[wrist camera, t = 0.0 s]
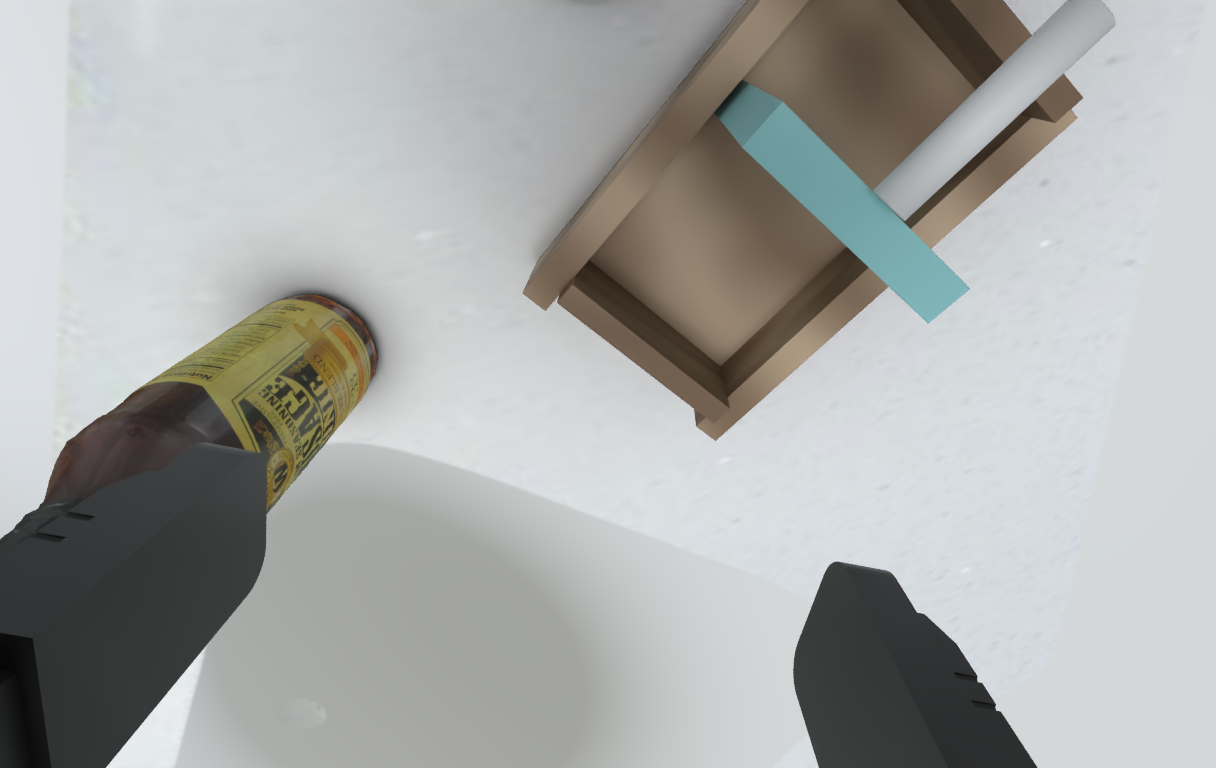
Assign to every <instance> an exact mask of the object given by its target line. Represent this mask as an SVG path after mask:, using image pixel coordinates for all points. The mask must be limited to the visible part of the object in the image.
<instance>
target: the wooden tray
mask: <svg viewBox="0 0 1216 768" xmlns="http://www.w3.org/2000/svg"><path fill="white" fill-rule="evenodd" d="M1031 36H1032V35H1031V34H1030V32H1029V31H1028V30H1027V29H1026V27H1025V26H1024V25H1023V24H1022V23H1021V21H1020V20H1019V19H1018V18H1017V17H1016V15H1015V14H1014V13H1013V12H1012V10H1011V9H1010V8H1009V7H1008V6H1007V4H1006V3H1005V2H1004V1H1003V0H748V1H747V2H746V4H745V5H744V6H743V7H742V9H741V10H740V11H739V12H738V14H737V15H736V16H735V17H734V18H733V20H732V21H731V22H730V23H729V25H728V26H727V27H726V28H725V30H724V31H723V32H722V33H721V35H720V36H719V37H718V38H717V40H716V41H715V42H714V43H713V44H712V46H711V47H710V48H709V49H708V51H707V52H706V53H705V54H704V56H703V57H702V58H701V59H700V61H699V62H698V63H697V64H696V66H695V67H694V68H693V69H692V71H691V72H690V73H689V74H688V75H687V77H686V78H685V79H684V80H683V82H682V83H681V84H680V85H679V87H678V88H677V89H676V90H675V92H674V93H673V94H672V95H671V97H670V98H669V99H668V100H667V101H666V103H665V104H664V105H663V106H662V108H661V109H660V110H659V111H658V113H657V114H656V115H655V116H654V118H653V119H652V120H651V121H650V123H649V124H648V125H647V126H646V128H645V129H644V130H643V131H642V132H641V134H640V135H639V136H638V137H637V139H636V140H635V141H634V142H633V144H632V145H631V146H630V147H629V149H628V150H627V151H626V152H625V154H624V155H623V156H622V157H621V158H620V160H619V161H618V162H617V163H616V165H615V166H614V167H613V168H612V170H611V171H610V172H609V173H608V175H607V176H606V177H605V178H604V180H603V181H602V182H601V183H600V185H599V186H598V187H597V188H596V189H595V191H594V192H593V193H592V194H591V196H590V197H589V198H588V199H587V201H586V202H585V203H584V204H583V206H582V207H581V208H580V209H579V211H578V212H577V213H576V214H575V215H574V217H573V218H572V219H571V220H570V222H569V223H568V224H567V225H566V227H565V228H564V229H563V230H562V232H561V233H560V234H559V235H558V237H557V238H556V239H555V240H554V242H553V243H552V244H551V245H550V246H549V248H548V249H547V250H546V251H545V253H544V254H543V255H542V256H541V258H540V259H539V260H538V261H537V263H536V265H535V267H534V269H533V271H532V273H531V276H530V278H529V280H528V282H527V284H526V286H525V288H524V291H523V294H524V295H525V296H527V297H528V298H529V299H531V300H532V301H533V302H535V303H536V304H537V305H538V306H540V307H541V308H542V309H544V310H545V311H546V310H547V308H548V307H549V306H550V305H551V304H552V303H553V301H554V300H555V299H556V298H557V297H558V295H559V294H560V295H559V298H558V301H557V303H558V304H559V305H561V306H562V307H563V308H565V309H566V310H567V311H568V312H570V313H571V314H572V315H574V316H575V317H576V318H578V319H579V320H580V321H581V322H583V323H584V324H585V325H587V326H588V327H589V328H590V329H592V330H593V331H594V332H596V333H597V334H598V335H600V336H601V337H602V338H603V339H605V340H606V341H607V342H609V343H610V344H611V345H612V346H614V347H615V348H616V349H618V350H619V351H620V352H621V353H623V354H624V355H625V356H627V357H628V358H629V359H631V360H632V361H633V362H634V363H636V364H637V365H638V366H640V367H641V368H642V369H643V370H645V371H646V372H647V373H649V374H650V375H651V376H653V377H654V378H655V379H656V380H658V381H659V382H660V383H662V384H663V385H664V386H665V387H667V388H668V389H669V390H671V391H672V392H673V393H674V394H676V395H677V396H678V397H680V398H681V399H682V400H684V401H685V402H686V403H687V404H689V405H690V406H691V407H693V408H694V412H695V420H696V426H697V427H698V428H699V429H701V430H702V431H703V432H705V433H706V434H707V435H708V436H710V437H711V438H712V439H714V440H715V441H716V440H717V439H718V438H719V437H720V436H722V435H723V434H724V433H725V432H726V431H727V430H728V429H729V428H731V427H732V426H733V425H734V424H735V423H736V422H737V421H738V420H740V419H741V418H742V417H743V416H744V415H745V414H746V413H747V412H749V411H750V410H751V409H752V408H753V407H754V406H755V405H756V404H757V403H759V402H760V401H761V400H762V399H763V398H764V397H765V396H766V395H768V394H769V393H770V392H771V391H772V390H773V389H774V388H775V387H777V386H778V385H779V384H780V383H781V382H782V381H783V380H784V379H786V378H787V377H788V376H789V375H790V374H791V373H792V372H793V371H794V370H796V369H797V368H798V367H799V366H800V365H801V364H802V363H803V362H805V361H806V360H807V359H808V358H809V357H810V356H811V355H812V354H814V353H815V352H816V351H817V350H818V349H819V348H820V347H821V346H822V345H824V344H825V343H826V342H827V341H828V340H829V339H830V338H831V337H833V336H834V335H835V334H836V333H837V332H838V331H839V330H840V329H842V328H843V327H844V326H845V325H846V324H847V323H848V322H849V321H851V320H852V319H853V318H854V317H855V316H856V315H857V314H858V313H859V312H861V311H862V310H863V309H864V308H865V307H866V306H867V305H868V304H870V303H871V302H872V301H873V300H874V299H875V298H876V297H877V296H879V295H880V294H881V293H882V292H883V291H884V290H885V289H886V288H887V287H889V286H888V285H887V284H886V283H885V282H884V281H883V280H882V279H881V278H879V277H878V276H877V275H876V274H875V273H874V272H873V271H872V270H871V269H870V268H869V267H868V266H867V265H866V264H865V263H864V262H863V261H862V260H860V259H859V258H858V257H857V256H856V255H855V254H854V253H853V252H852V251H851V250H850V249H849V248H848V247H847V246H846V245H845V244H844V243H843V242H841V241H840V240H839V239H838V238H837V237H836V236H835V235H834V234H833V233H832V232H831V231H830V230H829V229H828V228H827V227H826V226H825V225H824V224H822V223H821V222H820V221H819V220H818V219H817V218H816V217H815V216H814V215H813V214H812V213H811V212H810V211H809V210H808V209H807V208H806V207H805V206H803V205H802V204H801V203H800V202H799V201H798V200H797V199H796V198H795V197H794V196H793V195H792V194H791V193H790V192H789V191H788V190H787V189H786V188H784V187H783V186H782V185H781V184H780V183H779V182H778V181H777V180H776V179H775V178H774V177H773V176H772V175H771V174H770V173H769V172H768V171H767V170H765V169H764V168H763V167H762V166H761V165H760V164H759V163H758V162H757V161H756V160H755V159H754V158H753V157H752V156H751V155H750V154H749V153H748V152H746V151H745V150H744V149H743V148H742V147H741V145H740V144H739V143H738V142H737V140H736V139H735V138H734V137H733V135H732V134H731V133H730V132H729V130H728V129H727V128H726V127H725V125H724V124H723V123H722V122H721V121H720V119H719V118H718V117H717V116H716V114H715V113H714V112H715V110H716V109H717V108H718V107H719V106H720V105H721V103H722V102H723V101H724V100H725V99H726V97H727V96H728V95H729V94H730V93H731V92H732V90H733V89H734V88H735V87H736V86H737V84H738V83H739V82H740V81H741V80H744V81H746V82H747V83H749V84H751V85H753V86H755V87H757V88H759V89H760V90H762V91H764V92H766V93H768V94H770V95H771V96H773V97H775V98H777V99H779V100H781V101H783V102H784V103H785V104H786V105H787V106H788V107H789V108H790V109H791V110H792V111H793V112H794V113H795V114H796V115H797V116H798V117H799V118H800V119H801V120H802V121H803V122H804V123H805V124H806V125H807V126H808V127H809V128H810V129H811V130H812V131H813V132H814V133H815V134H816V135H817V136H818V137H819V138H820V139H821V140H822V141H823V142H824V143H825V144H826V145H827V146H828V147H829V148H830V149H831V150H832V151H833V152H834V153H835V154H836V155H837V156H838V157H839V158H840V159H841V160H842V161H843V162H844V163H845V164H846V165H847V166H848V167H849V168H850V169H851V170H852V171H853V172H854V173H855V174H856V175H857V176H858V177H859V178H860V179H861V180H862V181H863V182H864V183H865V184H866V185H867V186H868V187H869V188H870V189H871V190H872V191H873V190H874V189H875V188H876V187H877V186H878V185H879V184H880V183H881V182H882V181H883V180H884V179H885V178H886V177H887V176H888V175H889V174H890V173H891V172H892V171H893V170H894V169H895V168H897V167H898V166H899V165H900V164H901V163H902V162H903V161H904V160H905V159H906V158H907V157H908V156H909V155H910V154H911V153H912V152H913V151H914V150H915V149H916V148H917V147H918V146H919V145H920V144H921V143H922V142H923V141H924V140H925V139H926V138H927V137H928V136H929V135H930V134H931V133H932V132H933V131H934V130H935V129H936V128H937V127H939V126H940V125H941V124H942V123H943V122H944V121H945V120H946V119H947V118H948V117H949V116H950V115H951V114H952V113H953V112H954V111H955V110H956V109H957V108H958V107H959V106H960V105H961V104H962V103H963V102H964V101H965V100H966V99H967V98H968V97H969V96H970V95H971V94H972V93H973V92H974V91H975V90H976V89H977V88H978V87H979V86H981V85H982V84H983V83H984V82H985V81H986V80H987V79H988V78H989V77H990V76H991V75H992V74H993V73H994V72H995V71H996V70H997V69H998V68H999V67H1000V66H1001V65H1002V64H1003V63H1004V62H1005V61H1006V60H1007V59H1008V58H1009V57H1010V56H1011V55H1012V54H1013V53H1014V52H1015V51H1016V50H1017V49H1018V48H1019V47H1020V46H1021V45H1023V44H1024V43H1025V42H1026V41H1027V40H1028V39H1029V38H1030V37H1031ZM1082 99H1083V97H1082V96H1081V94H1080V93H1079V92H1078V91H1077V90H1076V88H1075V87H1074V86H1073V85H1072V83H1071V82H1070V81H1069V80H1068V79H1067V77H1066V76H1065V75H1064V74H1062V75H1061V76H1060V77H1059V78H1058V79H1057V80H1056V81H1055V82H1054V83H1053V84H1052V85H1051V86H1050V87H1048V88H1047V89H1046V90H1045V91H1044V92H1043V93H1042V94H1041V95H1040V96H1039V97H1038V98H1037V99H1036V100H1035V101H1033V102H1032V103H1031V104H1030V105H1029V106H1028V107H1027V108H1026V109H1025V110H1024V111H1023V112H1022V113H1021V114H1019V115H1018V116H1017V117H1016V118H1015V119H1014V120H1013V121H1012V122H1011V123H1010V124H1009V125H1008V126H1007V127H1005V128H1004V129H1003V130H1002V131H1001V132H1000V133H999V134H998V135H997V136H996V137H995V138H994V139H993V140H992V141H990V142H989V143H988V144H987V145H986V146H985V147H984V148H983V149H982V150H981V151H980V152H979V153H978V154H976V155H975V156H974V157H973V158H972V159H971V160H970V161H969V162H968V163H967V164H966V165H965V166H964V167H962V168H961V169H960V170H959V171H958V172H957V173H956V174H955V175H954V176H953V177H952V178H951V179H950V180H949V181H947V182H946V183H945V184H944V185H943V186H942V187H941V188H940V189H939V190H938V191H937V192H936V193H935V194H933V195H932V196H931V197H930V198H929V199H928V200H927V201H926V202H925V203H924V204H923V205H922V206H921V207H919V208H918V209H917V210H916V211H915V212H914V213H913V214H912V215H911V216H910V217H909V218H908V219H907V220H906V221H904V220H903V219H901V218H900V217H899V216H898V215H897V214H896V213H895V212H894V213H895V214H896V215H897V216H898V217H899V218H900V219H901V220H902V221H903V222H904V223H905V224H906V225H907V226H908V227H909V228H910V229H911V230H912V231H913V232H914V233H915V234H916V235H917V236H918V237H919V238H920V239H921V240H922V241H923V242H924V243H925V244H926V245H927V246H928V247H929V248H930V249H931V248H932V247H933V246H935V245H936V244H937V243H938V242H939V241H940V240H941V239H942V238H944V237H945V236H946V235H947V234H948V233H949V232H950V231H951V230H953V229H954V228H955V227H956V226H957V225H958V224H959V223H960V222H961V221H963V220H964V219H965V218H966V217H967V216H968V215H969V214H970V213H972V212H973V211H974V210H975V209H976V208H977V207H978V206H979V205H981V204H982V203H983V202H984V201H985V200H986V199H987V198H988V197H989V196H991V195H992V194H993V193H994V192H995V191H996V190H997V189H998V188H1000V187H1001V186H1002V185H1003V184H1004V183H1005V182H1006V181H1007V180H1009V179H1010V178H1011V177H1012V176H1013V175H1014V174H1015V173H1016V172H1018V171H1019V170H1020V169H1021V168H1022V167H1023V166H1024V165H1025V164H1026V163H1028V162H1029V161H1030V160H1031V159H1032V158H1033V157H1034V156H1035V155H1037V154H1038V153H1039V152H1040V151H1041V150H1042V149H1043V148H1044V147H1046V146H1047V145H1048V144H1049V143H1050V142H1051V141H1052V140H1053V139H1054V138H1056V137H1057V136H1058V135H1059V134H1060V133H1061V132H1062V131H1063V130H1065V129H1066V128H1067V127H1068V126H1069V125H1070V124H1071V123H1072V122H1074V121H1075V120H1076V119H1077V118H1078V117H1077V116H1076V115H1075V114H1074V113H1073V111H1072V110H1071V109H1072V108H1073V107H1074V106H1075V105H1076V104H1077V103H1078V102H1079V101H1080V100H1082ZM873 192H874V191H873Z"/></svg>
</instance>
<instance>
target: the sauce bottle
mask: <svg viewBox="0 0 1216 768" xmlns="http://www.w3.org/2000/svg"><path fill="white" fill-rule="evenodd" d="M376 363H377V356H376V350H375V347H374V344H373V341H372V338H371V337H370V333H368V331H367V329H366V327H365V325H364V324H363V322H362V320H361V319H360V318H359V317H358V316H357V315H356V314H354V313H353V311H351V310H349V309H347V308H344V307H343V306H341V305H339V304H338V303H336V302H334V301H332V300H330V299H328V298H326V297H322V296H319V295H299V296H293V297H289V298H286V299H283V300H279V301H276V302H273V303H271V304H268V305H267V306H265V307H263V308H261V309H260V310H258V311H257V312H255V313H254V314H252V315H250V316H249V317H247V318H246V319H244V320H243V321H241V322H240V323H238V324H237V325H235V326H233V327H232V328H230V329H229V330H227V331H226V332H224V333H223V334H222V335H220V336H219V337H217V338H216V339H214V340H213V341H211V342H210V343H208V344H207V345H205V346H204V347H202V348H200V349H199V350H197V351H196V352H194V353H193V354H191V355H190V356H188V357H186V358H185V359H183V360H182V361H180V362H179V363H177V364H175V365H174V366H172V367H171V368H169V369H168V370H166V371H165V372H164V373H162V374H160V375H159V376H157V377H156V378H154V379H153V380H151V381H150V382H148V383H146V384H145V385H143V386H142V387H140V388H139V389H137V390H136V391H134V392H133V393H132V394H131V395H129V396H128V397H127V398H126V399H125V400H124V402H123V403H121V404H120V405H118V406H117V407H116V408H115V409H114V410H112V411H110V412H109V413H107V414H106V415H102V416H101V417H99V418H97V419H96V420H95V421H94V422H92V423H91V424H90V425H88V426H87V427H85V428H84V429H83V430H82V431H80V432H79V433H78V434H77V435H76V436H75V437H73V438H72V439H70V440H69V441H67V442H66V445H65V447H64V448H63V450H62V451H61V453H60V455H59V457H58V458H57V461H56V463H55V465H54V469H53V471H52V475H51V477H50V480H49V484H48V488H47V492H46V496H45V500H44V502H43V503H42V504H40V506H39V508H38V509H37V510H35V511H32V512H30V513H28V514H26V515H25V516H24V517H23V519H22V520H21V521H20V522H19V523H18V524H17V525H16V526H15V528H14V529H13V530H12V531H11V532H9V533H8V534H6V535H5V536H4V537H2V538H1V539H0V556H2V555H3V554H5V553H6V552H8V551H9V550H11V549H12V548H13V547H15V546H16V545H18V544H19V543H21V542H22V541H24V540H25V539H27V538H28V537H29V538H34V537H35V536H36V534H37V531H39V530H40V529H42V528H43V527H45V526H46V525H48V524H49V523H51V522H52V521H54V520H55V519H57V518H58V517H60V516H62V517H65V516H66V515H67V511H69V510H70V509H72V508H73V507H75V506H76V505H77V504H79V503H80V502H82V501H83V500H85V499H86V498H88V497H89V496H91V495H92V494H94V493H95V492H97V491H98V490H100V489H101V488H103V487H105V486H108V485H111V484H113V483H116V482H119V481H121V480H124V479H127V478H130V477H132V476H135V475H138V474H140V473H143V472H146V471H148V470H150V471H155V472H158V471H159V470H161V469H162V468H163V467H165V466H166V465H168V464H169V463H170V462H172V461H173V460H175V459H176V458H177V457H179V456H180V455H182V454H183V453H184V452H186V451H187V450H188V449H190V448H191V447H193V446H194V445H196V444H198V443H201V442H206V443H211V444H216V445H222V446H227V447H233V448H238V449H243V450H249V451H254V452H259V453H261V454H262V455H263V456H264V458H265V460H266V465H267V505H266V514H267V513H268V512H269V511H270V509H271V508H272V507H273V506H274V505H275V504H276V502H277V501H278V500H279V499H280V497H281V496H282V495H283V494H284V493H285V491H286V490H287V489H288V488H289V487H290V485H291V484H292V483H293V482H294V481H295V480H296V478H297V477H298V476H299V475H300V474H301V472H302V471H303V470H304V469H305V468H306V467H307V465H308V464H309V462H310V461H311V460H312V459H313V458H314V456H315V455H316V454H317V453H318V452H319V450H320V449H321V448H322V447H323V446H324V445H325V444H326V442H327V441H328V439H329V438H330V437H331V436H332V434H333V433H334V432H335V431H336V429H337V428H338V427H339V426H340V425H341V424H342V423H343V421H344V420H345V419H346V418H347V417H348V415H349V414H350V413H351V411H352V410H353V409H354V408H355V407H356V406H357V404H358V403H359V402H360V401H361V399H362V398H363V396H364V395H365V393H366V391H367V388H368V385H369V383H370V381H371V379H372V378H373V376H374V374H375V369H376Z"/></svg>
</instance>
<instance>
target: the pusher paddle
mask: <svg viewBox="0 0 1216 768" xmlns="http://www.w3.org/2000/svg"><path fill="white" fill-rule="evenodd" d="M1114 26H1115V19H1114V16H1113V14H1112V12H1111V11H1110V10H1109V8H1108V7H1107V6H1106V5H1105V4H1104V3H1103V2H1102V1H1100V0H1068V1H1067V2H1066V3H1065V4H1063V5H1062V6H1061V7H1060V8H1059V9H1058V10H1057V11H1056V12H1055V13H1054V14H1053V15H1052V16H1051V17H1050V18H1049V19H1048V20H1047V21H1046V22H1045V23H1044V24H1043V25H1042V26H1041V27H1040V28H1039V29H1038V30H1037V31H1036V32H1035V33H1034V34H1033V35H1032V36H1031V37H1030V38H1029V39H1028V40H1027V41H1026V42H1025V43H1024V44H1023V45H1021V46H1020V47H1019V48H1018V49H1017V50H1016V51H1015V52H1014V53H1013V54H1012V55H1011V56H1010V57H1009V58H1008V59H1007V60H1006V61H1005V62H1004V63H1003V64H1002V65H1001V66H1000V67H999V68H998V69H997V70H996V71H995V72H994V73H993V74H992V75H991V76H990V77H989V78H988V79H987V80H986V81H985V82H984V83H983V84H982V85H981V86H979V87H978V88H977V89H976V90H975V91H974V92H973V93H972V94H971V95H970V96H969V97H968V98H967V99H966V100H965V101H964V102H963V103H962V104H961V105H960V106H959V107H958V108H957V109H956V110H955V111H954V112H953V113H952V114H951V115H950V116H949V117H948V118H947V119H946V120H945V121H944V122H943V123H942V124H941V125H940V126H939V127H937V128H936V129H935V130H934V131H933V132H932V133H931V134H930V135H929V136H928V137H927V138H926V139H925V140H924V141H923V142H922V143H921V144H920V145H919V146H918V147H917V148H916V149H915V150H914V151H913V152H912V153H911V154H910V155H909V156H908V157H907V158H906V159H905V160H904V161H903V162H902V163H901V164H900V165H899V166H898V167H897V168H895V169H894V170H893V171H892V172H891V173H890V174H889V175H888V176H887V177H886V178H885V179H884V180H883V181H882V182H881V183H880V184H879V185H878V186H877V187H876V188H875V189H874V190H873V191H874V192H873V191H872V190H871V189H870V188H869V187H868V186H867V185H866V184H865V183H864V182H863V181H862V180H861V179H860V178H859V177H858V176H857V175H856V174H855V173H854V172H853V171H852V170H851V169H850V168H849V167H848V166H847V165H846V164H845V163H844V162H843V161H842V160H841V159H840V158H839V157H838V156H837V155H836V154H835V153H834V152H833V151H832V150H831V149H830V148H829V147H828V146H827V145H826V144H825V143H824V142H823V141H822V140H821V139H820V138H819V137H818V136H817V135H816V134H815V133H814V132H813V131H812V130H811V129H810V128H809V127H808V126H807V125H806V124H805V123H804V122H803V121H802V120H801V119H800V118H799V117H798V116H797V115H796V114H795V113H794V112H793V111H792V110H791V109H790V108H789V107H788V106H787V105H786V104H785V103H784V102H783V101H781V100H779V99H777V98H775V97H773V96H771V95H770V94H768V93H766V92H764V91H762V90H760V89H759V88H757V87H755V86H753V85H751V84H749V83H747V82H746V81H744V80H741V81H740V82H739V83H738V84H737V86H736V87H735V88H734V89H733V90H732V92H731V93H730V94H729V95H728V96H727V97H726V99H725V100H724V101H723V102H722V103H721V105H720V106H719V107H718V108H717V109H716V110H715V112H714V113H715V114H716V116H717V117H718V118H719V119H720V121H721V122H722V123H723V124H724V125H725V127H726V128H727V129H728V130H729V132H730V133H731V134H732V135H733V137H734V138H735V139H736V140H737V142H738V143H739V144H740V145H741V147H742V148H743V149H744V150H745V151H746V152H748V153H749V154H750V155H751V156H752V157H753V158H754V159H755V160H756V161H757V162H758V163H759V164H760V165H761V166H762V167H763V168H764V169H765V170H767V171H768V172H769V173H770V174H771V175H772V176H773V177H774V178H775V179H776V180H777V181H778V182H779V183H780V184H781V185H782V186H783V187H784V188H786V189H787V190H788V191H789V192H790V193H791V194H792V195H793V196H794V197H795V198H796V199H797V200H798V201H799V202H800V203H801V204H802V205H803V206H805V207H806V208H807V209H808V210H809V211H810V212H811V213H812V214H813V215H814V216H815V217H816V218H817V219H818V220H819V221H820V222H821V223H822V224H824V225H825V226H826V227H827V228H828V229H829V230H830V231H831V232H832V233H833V234H834V235H835V236H836V237H837V238H838V239H839V240H840V241H841V242H843V243H844V244H845V245H846V246H847V247H848V248H849V249H850V250H851V251H852V252H853V253H854V254H855V255H856V256H857V257H858V258H859V259H860V260H862V261H863V262H864V263H865V264H866V265H867V266H868V267H869V268H870V269H871V270H872V271H873V272H874V273H875V274H876V275H877V276H878V277H879V278H881V279H882V280H883V281H884V282H885V283H886V284H887V285H888V286H889V287H890V288H891V289H892V290H893V291H894V292H895V293H896V294H897V295H898V296H900V297H901V298H902V299H903V300H904V301H905V302H906V303H907V304H908V305H909V306H910V307H911V308H912V309H913V310H914V311H915V312H916V313H917V314H919V315H920V316H921V317H922V318H923V319H924V320H925V321H926V322H927V323H930V322H931V321H932V320H933V319H934V318H936V317H937V316H938V315H939V314H940V313H941V312H943V311H944V310H945V309H946V308H947V307H949V306H950V305H951V304H952V303H953V302H955V301H956V300H957V299H958V298H959V297H961V296H962V295H963V294H964V293H965V292H967V291H968V290H969V289H970V288H969V287H968V286H967V285H966V284H965V283H964V282H963V281H962V280H961V279H960V278H959V277H958V276H957V275H956V274H955V273H954V272H953V271H952V270H951V269H950V268H949V267H948V266H947V265H946V264H945V263H944V262H943V261H942V260H941V259H940V258H939V257H938V256H937V255H936V254H935V253H934V252H933V251H932V250H931V249H930V248H929V247H928V246H927V245H926V244H925V243H924V242H923V241H922V240H921V239H920V238H919V237H918V236H917V235H916V234H915V233H914V232H913V231H912V230H911V229H910V228H909V227H908V226H907V225H906V224H905V223H904V222H903V221H902V220H901V219H903V220H904V221H906V220H907V219H908V218H909V217H910V216H911V215H912V214H913V213H914V212H915V211H916V210H917V209H918V208H919V207H921V206H922V205H923V204H924V203H925V202H926V201H927V200H928V199H929V198H930V197H931V196H932V195H933V194H935V193H936V192H937V191H938V190H939V189H940V188H941V187H942V186H943V185H944V184H945V183H946V182H947V181H949V180H950V179H951V178H952V177H953V176H954V175H955V174H956V173H957V172H958V171H959V170H960V169H961V168H962V167H964V166H965V165H966V164H967V163H968V162H969V161H970V160H971V159H972V158H973V157H974V156H975V155H976V154H978V153H979V152H980V151H981V150H982V149H983V148H984V147H985V146H986V145H987V144H988V143H989V142H990V141H992V140H993V139H994V138H995V137H996V136H997V135H998V134H999V133H1000V132H1001V131H1002V130H1003V129H1004V128H1005V127H1007V126H1008V125H1009V124H1010V123H1011V122H1012V121H1013V120H1014V119H1015V118H1016V117H1017V116H1018V115H1019V114H1021V113H1022V112H1023V111H1024V110H1025V109H1026V108H1027V107H1028V106H1029V105H1030V104H1031V103H1032V102H1033V101H1035V100H1036V99H1037V98H1038V97H1039V96H1040V95H1041V94H1042V93H1043V92H1044V91H1045V90H1046V89H1047V88H1048V87H1050V86H1051V85H1052V84H1053V83H1054V82H1055V81H1056V80H1057V79H1058V78H1059V77H1060V76H1061V75H1062V74H1064V73H1065V72H1066V71H1067V70H1068V69H1069V68H1070V67H1071V66H1072V65H1073V64H1074V63H1075V62H1076V61H1078V60H1079V59H1080V58H1081V57H1082V56H1083V55H1084V54H1085V53H1086V52H1087V51H1088V50H1089V49H1090V48H1091V47H1093V46H1094V45H1095V44H1096V43H1097V42H1098V41H1099V40H1100V39H1101V38H1102V37H1103V36H1104V35H1105V34H1107V33H1108V32H1109V31H1110V30H1111V29H1112V28H1113V27H1114ZM894 212H895V213H896V214H897V215H898V216H899V217H900V218H901V219H900V218H899V217H898V216H897V215H896V214H895V213H894Z"/></svg>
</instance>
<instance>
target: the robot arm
mask: <svg viewBox="0 0 1216 768" xmlns="http://www.w3.org/2000/svg"><path fill="white" fill-rule="evenodd" d="M266 505H267V465H266V460H265V458H264V456H263V455H262V454H261V453H259V452H254V451H249V450H243V449H238V448H233V447H227V446H222V445H216V444H211V443H206V442H201V443H198V444H196V445H194V446H193V447H191V448H190V449H188V450H187V451H186V452H184V453H183V454H182V455H180V456H179V457H177V458H176V459H175V460H173V461H172V462H170V463H169V464H168V465H166V466H165V467H163V468H162V469H161V470H159V471H158V472H155V471H150V470H148V471H146V472H143V473H140V474H138V475H135V476H132V477H130V478H127V479H124V480H121V481H119V482H116V483H113V484H111V485H108V486H105V487H103V488H101V489H100V490H98V491H97V492H95V493H94V494H92V495H91V496H89V497H88V498H86V499H85V500H83V501H82V502H80V503H79V504H77V505H76V506H75V507H73V508H72V509H70V510H69V511H67V515H66V516H65V517H62V516H60V517H58V518H57V519H55V520H54V521H52V522H51V523H49V524H48V525H46V526H45V527H43V528H42V529H40V530H39V531H37V534H36V536H35V537H34V538H29V537H28V538H27V539H25V540H24V541H22V542H21V543H19V544H18V545H16V546H15V547H13V548H12V549H11V550H9V551H8V552H6V553H5V554H3V555H2V556H0V768H106V767H107V765H108V764H109V763H110V762H111V761H112V759H113V758H114V757H115V756H116V754H117V753H118V752H119V751H120V750H121V748H122V747H123V746H124V745H125V744H126V742H127V741H128V740H129V739H130V737H131V736H132V735H133V734H134V733H135V731H136V730H137V729H138V728H139V727H140V725H141V724H142V723H143V722H144V720H145V719H146V718H147V717H148V716H149V714H150V713H151V712H152V711H153V710H154V708H155V707H156V706H157V705H158V703H159V702H160V701H161V700H162V699H163V697H164V696H165V695H166V694H167V692H168V691H169V690H170V689H171V688H172V686H173V685H174V684H175V683H176V682H177V680H178V679H179V678H180V677H181V675H182V674H183V673H184V672H185V671H186V669H187V668H188V667H189V666H190V665H191V663H192V662H193V661H194V660H195V658H196V657H197V656H198V655H199V654H200V652H201V651H202V650H203V649H204V647H205V646H206V645H207V644H208V643H209V641H210V640H211V639H212V638H213V637H214V635H215V634H216V633H217V632H218V630H219V629H220V628H221V627H222V626H223V624H224V623H225V622H226V621H227V620H228V618H229V617H230V616H231V615H232V613H233V612H234V611H235V610H236V609H237V607H238V606H239V605H240V604H241V603H242V601H243V600H244V599H245V598H246V596H247V595H248V594H249V592H250V591H251V589H252V588H253V586H254V584H255V582H256V580H257V578H258V576H259V573H260V571H261V567H262V565H263V561H264V557H265V550H266ZM793 671H794V672H793V673H794V685H795V690H796V695H797V698H798V701H799V704H800V707H801V711H802V714H803V717H804V720H805V724H806V727H807V730H808V733H809V737H810V740H811V743H812V746H813V750H814V753H815V756H816V759H817V762H818V766H819V768H1037V766H1036V765H1035V763H1034V762H1033V760H1032V759H1031V757H1030V756H1029V754H1028V753H1027V751H1026V750H1025V748H1024V746H1023V745H1022V743H1021V742H1020V740H1019V739H1018V737H1017V736H1016V734H1015V733H1014V731H1013V730H1012V728H1011V727H1010V725H1009V724H1008V722H1007V720H1006V719H1005V717H1004V716H1003V715H1002V713H1001V712H999V711H996V709H995V706H996V704H995V702H994V701H993V699H992V698H991V696H990V695H989V693H988V691H987V690H986V688H985V687H984V685H983V684H982V683H979V682H977V677H978V676H977V675H976V673H975V672H974V670H973V669H972V667H971V666H970V664H969V663H968V661H967V659H966V658H965V656H964V655H963V653H962V652H961V650H960V649H959V647H958V646H957V644H956V643H955V642H954V641H953V640H952V639H950V638H949V637H948V636H947V635H946V634H945V633H944V632H943V631H942V630H941V629H940V628H939V627H938V626H936V625H935V624H934V623H933V622H932V621H931V620H930V619H929V618H928V617H927V616H926V615H925V614H921V613H917V612H916V610H915V609H914V607H913V605H912V604H911V602H910V601H909V599H908V597H907V596H906V594H905V592H904V591H903V589H902V588H901V586H900V584H899V583H898V581H897V579H896V578H895V577H894V575H893V574H892V573H891V572H889V571H886V570H880V569H875V568H870V567H864V566H859V565H853V564H848V563H843V562H833V563H832V564H831V565H830V566H829V567H828V568H827V570H826V572H825V574H824V576H823V579H822V581H821V584H820V587H819V589H818V592H817V594H816V597H815V600H814V602H813V605H812V607H811V610H810V613H809V615H808V618H807V621H806V623H805V626H804V628H803V631H802V634H801V636H800V639H799V641H798V644H797V647H796V651H795V657H794V669H793Z"/></svg>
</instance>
